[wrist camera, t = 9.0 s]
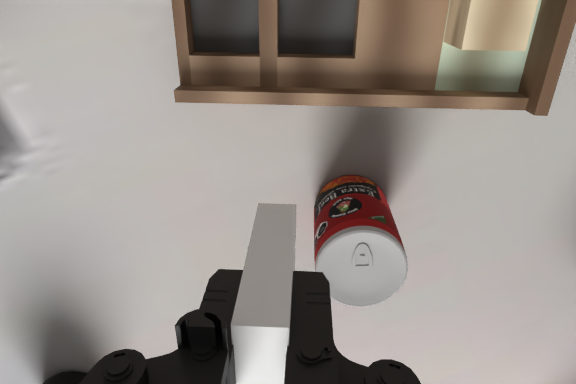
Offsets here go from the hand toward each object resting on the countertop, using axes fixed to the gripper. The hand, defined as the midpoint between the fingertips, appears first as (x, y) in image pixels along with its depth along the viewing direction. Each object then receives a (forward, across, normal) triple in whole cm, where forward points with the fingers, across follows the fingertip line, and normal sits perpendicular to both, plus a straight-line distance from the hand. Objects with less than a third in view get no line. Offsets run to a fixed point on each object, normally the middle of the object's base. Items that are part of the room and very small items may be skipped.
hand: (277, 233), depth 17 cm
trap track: (+24, -5, -7) cm, 26 cm away
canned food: (+25, -6, +12) cm, 28 cm away
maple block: (+22, -14, -7) cm, 27 cm away
